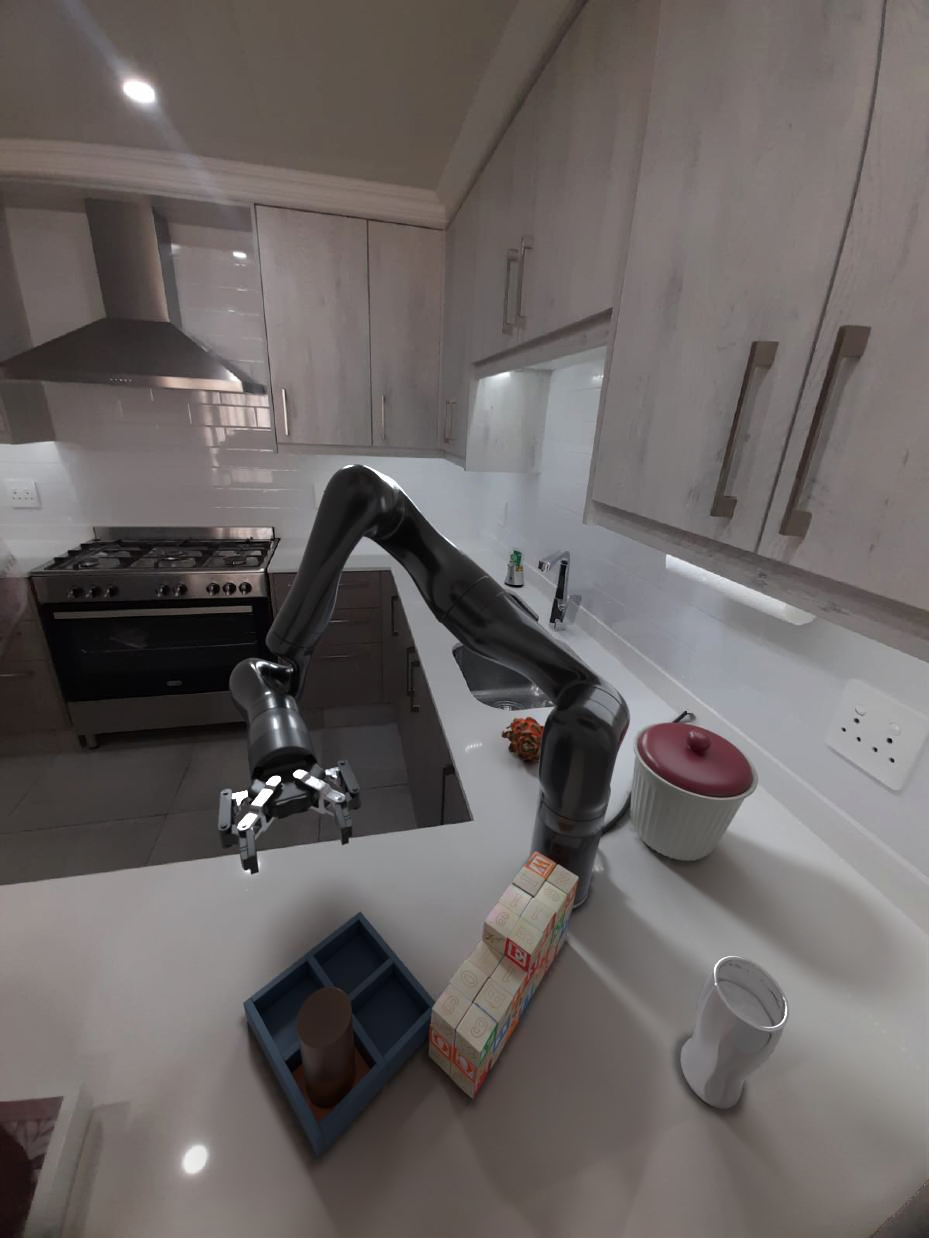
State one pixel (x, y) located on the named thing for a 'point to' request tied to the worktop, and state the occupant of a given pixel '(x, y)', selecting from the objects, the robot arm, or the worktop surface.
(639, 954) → the worktop surface
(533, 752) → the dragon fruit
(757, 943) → the worktop surface
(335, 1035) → the brown cylinder
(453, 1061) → the stack of blocks
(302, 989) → the grid
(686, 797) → the canister
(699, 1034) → the beer glass
